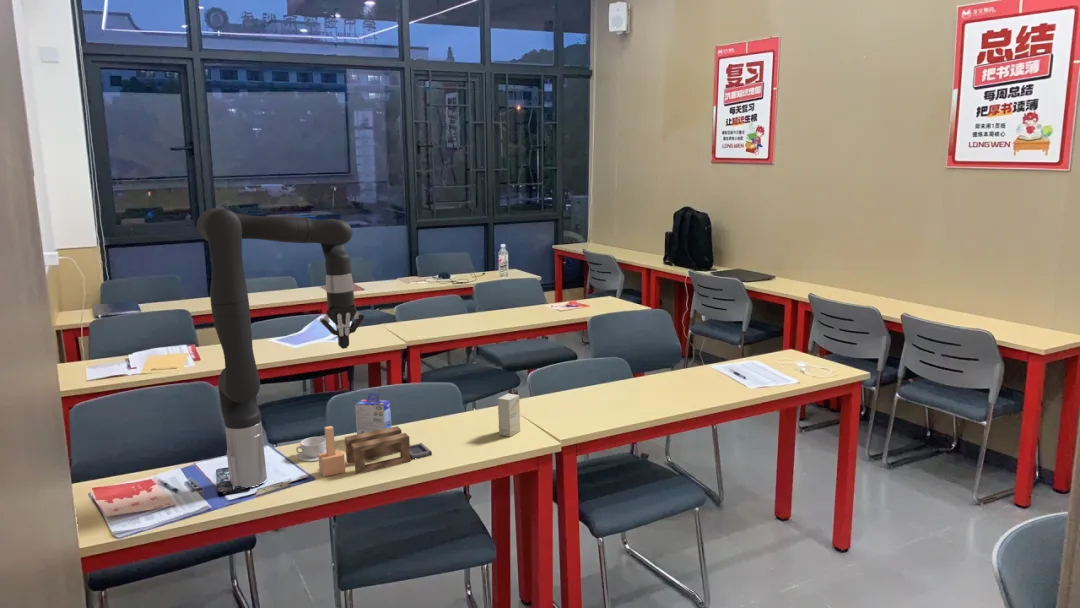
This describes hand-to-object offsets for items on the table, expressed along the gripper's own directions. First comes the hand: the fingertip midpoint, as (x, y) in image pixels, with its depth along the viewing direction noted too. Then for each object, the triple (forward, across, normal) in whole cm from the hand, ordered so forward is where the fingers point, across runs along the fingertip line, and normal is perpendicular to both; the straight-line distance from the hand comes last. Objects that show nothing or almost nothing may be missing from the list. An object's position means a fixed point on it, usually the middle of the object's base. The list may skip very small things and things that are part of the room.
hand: (344, 347), depth 223 cm
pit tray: (+33, +17, -10) cm, 38 cm away
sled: (+33, -8, -10) cm, 35 cm away
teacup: (+33, -10, +6) cm, 35 cm away
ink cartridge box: (+33, +10, +9) cm, 36 cm away
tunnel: (+33, +5, -10) cm, 35 cm away
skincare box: (+33, +48, -10) cm, 59 cm away
